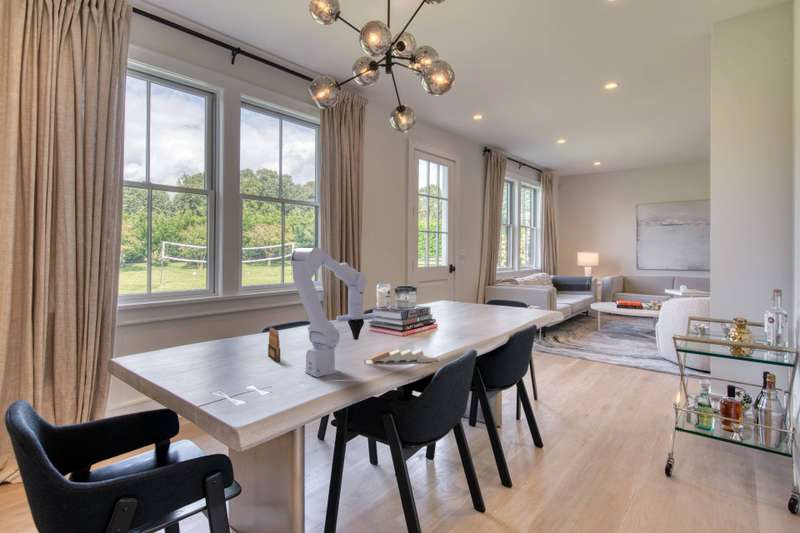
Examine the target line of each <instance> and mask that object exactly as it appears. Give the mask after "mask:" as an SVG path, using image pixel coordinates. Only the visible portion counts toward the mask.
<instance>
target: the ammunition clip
mask: <svg viewBox="0 0 800 533" xmlns="http://www.w3.org/2000/svg"><path fill="white" fill-rule="evenodd" d="M280 343H281V342H280V336H279V331H278V330H277V329H276V328H274V327H272V326H270V328H269V334H268V344H267V346H268V349H267V356H268V358H269V357H270V359H271V360H272V361H273V362H274V361H275V363H280V362H281V348H280Z"/></svg>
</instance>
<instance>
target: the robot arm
mask: <svg viewBox="0 0 800 533" xmlns="http://www.w3.org/2000/svg"><path fill="white" fill-rule="evenodd" d="M289 261H290V264H291V266H292V280H293V282H294V285H295V288H296V290H297V292H298V296H299V297H300V300H301V303H302V306H303V308H304V310H305V312H306V315H307V317H308V320H309V322H310V324H309V325H308V327H307V331H308V340H309V342H310V343H311V344H312V348H309V349H307V351H306V353H305V370H304V373H306V374H308V375H311V376H313V377H316V378H320V377H323V376H326V375H327V376H328V375H331V374H335V373H338V372H341V370H339V369H338V368H336V367H335V366H336V357H335V356H336V354H335V353H336V352H335V350H336V347H337V346H338V344H339V341H340V338H341V337H340V336H341V335H340V332H339V330H338V329H337V328H336V327H335V325H334V323H332V322H331V321H330V320H329V319H328V318H327V316H326V313H325V311H324V308H323V306H322V302H321V300H320V297H319V295H318V293H317V290H316V287H315V285H314V282H313V277H314V276H315V275H316V273H317V272H318V271H319V269H320V268H321V266H322V267H325V268H326V269H328V270H330V271H332V272H333V273H334V274H333V275H334V276H335V277H336V278H338V279H339V280H341V281H343V282H344V283H345V285H346V287H347V288H348V290H347V291H348V298H347V300H348V303H347V307H348V308H347V309H348V310H347V311H348V313H347V314H344V315H343V314H342V315H336V322H337V323H338V322H347V323H348V326H349V329H350V330H351V333H352V339H353V340H354V341H357V340H359V337H360V333H361V330H362V328H363V326H364V324H365V320H367V321H368V320H375V317H376V315H375V314H374V313H364V294H365V293H364V292H365V291H366V290H365V289H366V285H367V283H368V279H367V277H366V275H365V274H364V273H363V272H360V271H359V272H358V270H357V269H356V268H353V267H351V266H350V265H349V262H340V263H339V262H338V261H336V260H335V259H333V258H332V257H331V256H329V255H328V254H327V253H326V251H324V250H323V249H321V248H319V247H310V248H309V247H304V248H303V247H296V248H295V249H293V251H292V252H291V256H290V258H289Z"/></svg>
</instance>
